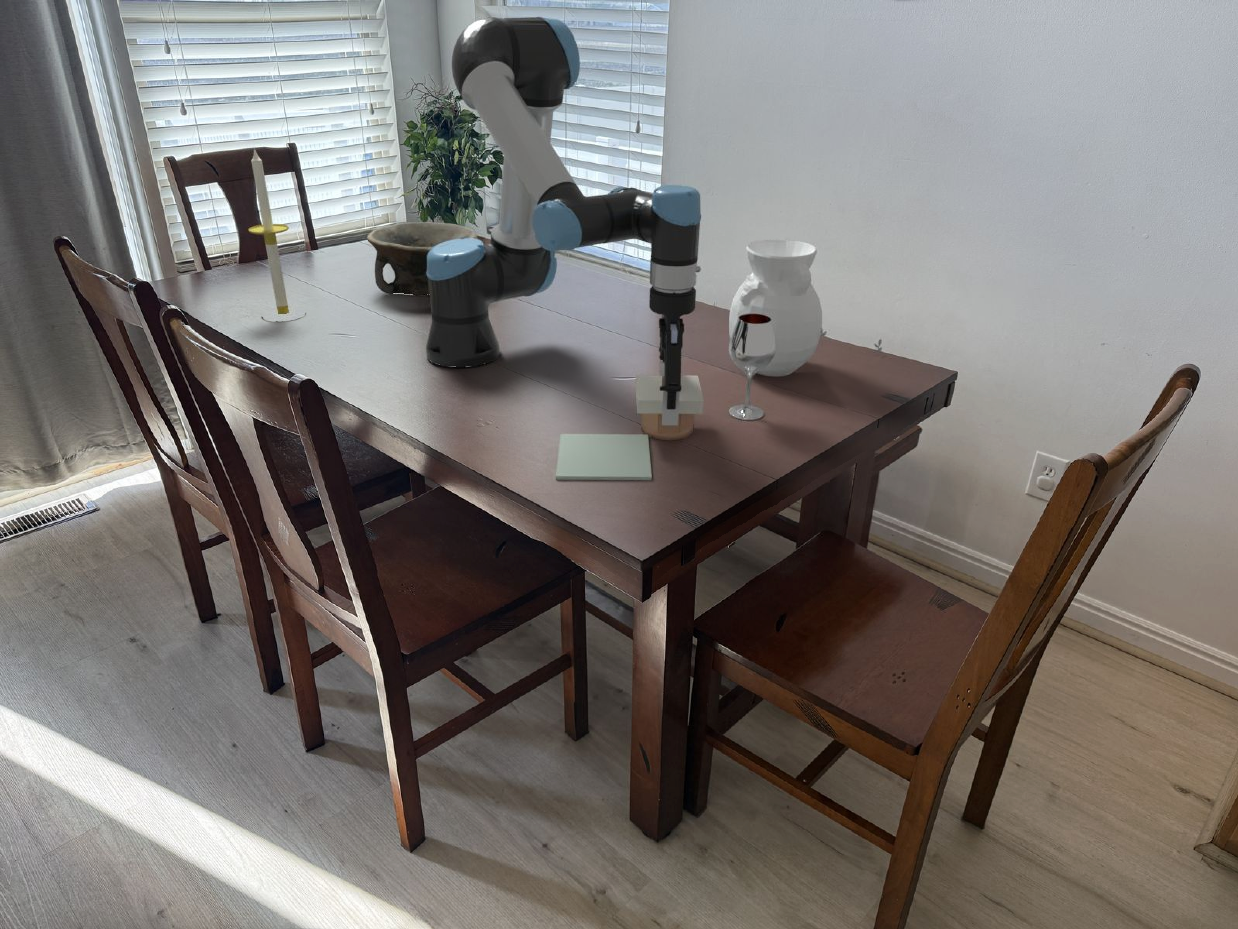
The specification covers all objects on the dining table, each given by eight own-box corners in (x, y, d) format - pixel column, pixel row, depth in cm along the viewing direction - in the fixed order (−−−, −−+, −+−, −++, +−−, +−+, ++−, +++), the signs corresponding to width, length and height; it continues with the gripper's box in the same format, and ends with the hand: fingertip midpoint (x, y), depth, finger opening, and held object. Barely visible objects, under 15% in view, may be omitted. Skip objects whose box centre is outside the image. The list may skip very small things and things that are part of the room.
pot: (642, 440, 148) (643, 410, 145) (640, 417, 156) (641, 389, 153) (694, 440, 148) (696, 411, 145) (690, 418, 156) (691, 390, 153)
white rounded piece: (709, 358, 182) (717, 239, 170) (783, 347, 188) (796, 232, 176) (755, 391, 167) (767, 263, 155) (834, 378, 173) (851, 254, 161)
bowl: (501, 287, 226) (498, 229, 219) (430, 313, 206) (424, 250, 199) (425, 270, 238) (420, 215, 231) (352, 294, 219) (344, 234, 212)
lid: (637, 413, 144) (637, 390, 142) (635, 387, 154) (636, 365, 152) (702, 413, 144) (704, 390, 142) (697, 388, 154) (698, 366, 152)
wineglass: (720, 404, 161) (727, 311, 153) (763, 403, 162) (772, 310, 153) (728, 423, 154) (736, 326, 146) (773, 421, 155) (783, 326, 146)
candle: (271, 325, 197) (239, 152, 179) (254, 314, 204) (222, 147, 186) (313, 316, 203) (286, 148, 185) (295, 306, 210) (268, 143, 192)
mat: (555, 479, 135) (555, 476, 135) (560, 437, 148) (560, 433, 148) (651, 480, 135) (651, 476, 135) (647, 437, 148) (647, 434, 148)
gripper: (703, 309, 129) (695, 440, 140) (690, 267, 150) (684, 383, 160) (653, 308, 129) (648, 439, 140) (647, 266, 150) (643, 383, 160)
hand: (667, 410), depth 150 cm, fingers closed on lid, 11 cm apart
